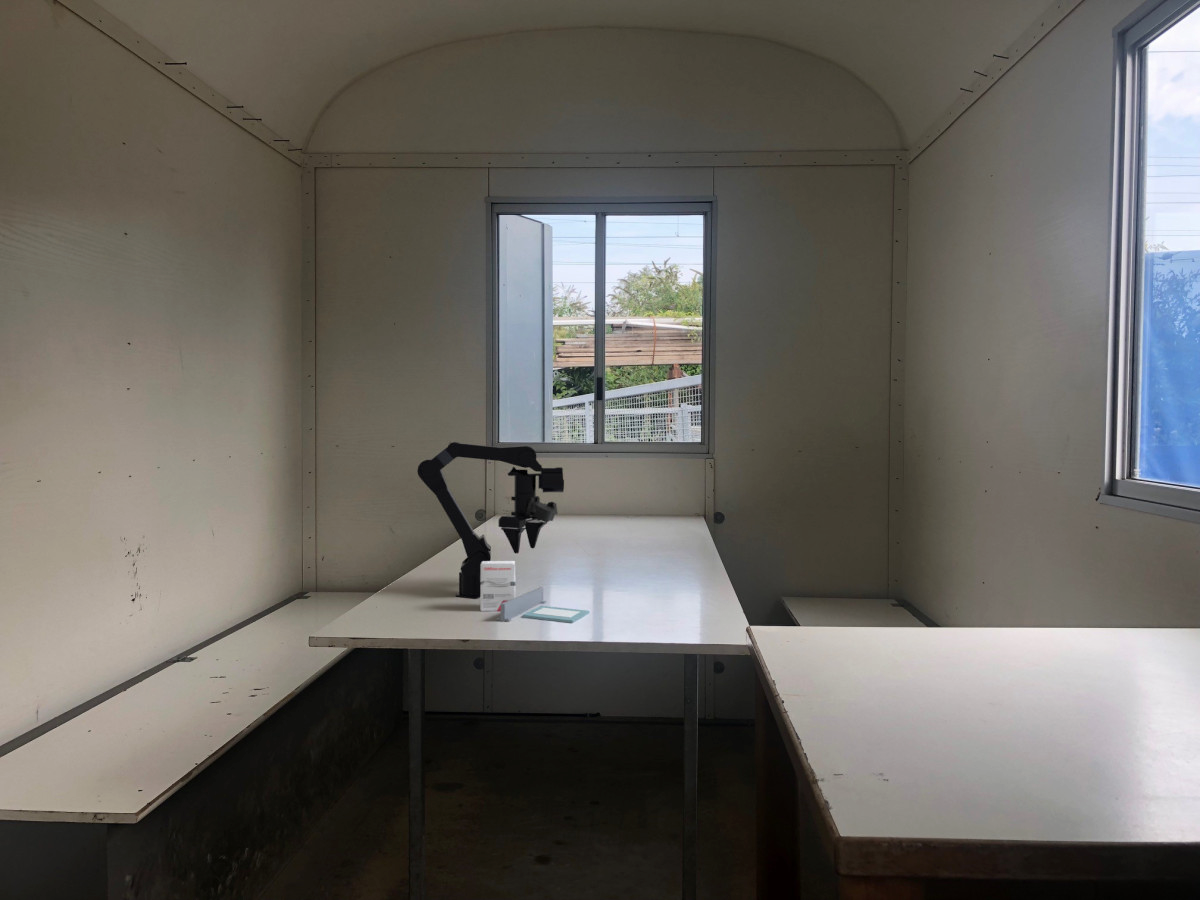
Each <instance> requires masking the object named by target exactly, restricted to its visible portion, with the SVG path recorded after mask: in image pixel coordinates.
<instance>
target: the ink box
mask: <svg viewBox="0 0 1200 900" xmlns="http://www.w3.org/2000/svg"><path fill="white" fill-rule="evenodd" d="M513 598H516V561H515V560H490V561H482V562H481V578H480V598H479V600H480V601H479V602H480V603H479V604H480V606H479V609H480V611H481V612H498V611H499V612H501V604H502V603H504V602H506V601H509V600H511V599H513Z"/></svg>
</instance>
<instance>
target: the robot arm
mask: <svg viewBox="0 0 1200 900" xmlns="http://www.w3.org/2000/svg"><path fill="white" fill-rule="evenodd" d="M456 458H469V459H478V460H487V461H497V462H504V463H507V464H509V465H513V466H512V467H511V469H510V470H509V471H508V472H507V476H508V477H513V478H514V479H513V480H514V481H513V482H514V484H513V485H514V490H513V491H514V493H513V494H514V495H512V496H511V498H510V500H511V501H513V502H514V503H513V504H514V506H513V508H514V511H511V513H510V514H506V515H502V516H500V517H499V519H498V526H497V527H499V528H500V529H501V531H503V533H504V535H505V536H506V539H507V540H508V542H509V544H510V546H511V549H512V551H513V553H514V554H519V552H520V549H521V548H520V545H521V540H522V539H521V537H522V533H523V532H524V531H526V536H527V539H528V544H529V547H530V548H531V549H535V548H536V546H537V541H538V538H539V536H540V531H541V529H542V528H543V527H544V526H545V525H547V524H548V523H549V522H553V521H554V518H555V515H558V506H557V502H555V501H549V502H548V503H545V502H544V503H543V502H541V501H540V499H541V498H540V497H539V495H537V489H538V490H539V489H541V491H542V493H564V491H565V490H564V489H565V479H564V471H563V470H564V469H563V467H561V466H557V467H543V466H542V465H543V464H541V463H539V461H538V460H537V453H536V451H535V450H534V448H532V447H531V446H529V445H514V446H504V447H503V446H502V447H501V446H492V445H481V444H480V445H479V444H471V443H461V442H459V441H453V442H451V443H449V444H448V445H447V446H446V447H445V448H444V449H442V451H441V452H439V453H438V454H437V455H435V456H434V457H433V458H427V459H425V460H423V461H422V462H420V464H418V466H417V471H416V472H417V475H418V476H417V477H419V479H421V481H422V482H423V483H424V485H426V487H427V488H428V489H429V490H431V492H432V493H433V494H434V495H435V496H436V499H437V500H438V502H439V504H440V505H441V507H442V508H443V510H444V512H445V514H446V516H447V517H448V519H449V520H450V522H451V524H452V525H453V527H454V529H455V531H456V533H457V534H458V536H459V538H460V540H461V542H462V545H463V548H464V552H465V554H466V558H465V559H464V560H463V561H462V562H461V566H460V572H459V573H458V593H456V594H455V597H456V598H465V599H474V600H475V599H480V578H481V562H482V561H492V560H491V558H492V554H491V551H492V546H491V544H489V543H488V542H487V539H486V537H485V534H483V533H482V535H480V536H479V535H478V534H477V533H476V532H475V530H474V529H473V527H472V526H471V524H470V522H469V521H468V519H467V517H466V515H465V514H464V512H463V510H462V509H461V507H460V504H459V503H458V502H457V500H456V498H455V496H454V495H453V493H452V491H451V489H450V488H449V485H448V481H447V478H446V475H445V473H444V471H443V469H444V468H445V467H446V466H447V465H449V464H450V463H451V462H452V461H454V460H455V459H456ZM515 466H517V467H519V468H523V469H517V468H516V467H515ZM526 468H527V469H526ZM528 468H529V469H531V470H533V471H534V473H533V472H532V473H531V472H530V473H529V472H528ZM538 472H539V473H538Z"/></svg>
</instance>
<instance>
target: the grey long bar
mask: <svg viewBox="0 0 1200 900" xmlns="http://www.w3.org/2000/svg"><path fill="white" fill-rule="evenodd" d="M546 603H547V601H546V600H544V587H542V586H538V587H537V588H535V589H531V590H530V591H528V592H525V593H522V594H521V595H518V596H515V598H513V599H511V600H509V601H506V602H504V603H502V604H501V611H500V616H499V617H497V621H499V622H511V621H512V619H513V618H515V617H517V616H519V615H521V614H524V613H526V612H528V611H529V610H531V609H532V608H533V609H534V607H536V606H538V605H540V604H543V605H544V604H546Z"/></svg>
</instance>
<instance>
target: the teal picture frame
mask: <svg viewBox="0 0 1200 900" xmlns="http://www.w3.org/2000/svg"><path fill="white" fill-rule="evenodd" d="M589 614H590V610H586V609H577V608H566V607H557V606H547V605H540V606H538V607H536V608H533V609H532V610H531V609H530V611H529V610H528V611H526V612H524V613H522V615H521V616H522V618H526V619H534V620H542V621H552V622H559V623H569V624H573V623H575V622H577V621H578V620H580V619H582V618H584V617H586V616H587V615H589Z"/></svg>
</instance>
